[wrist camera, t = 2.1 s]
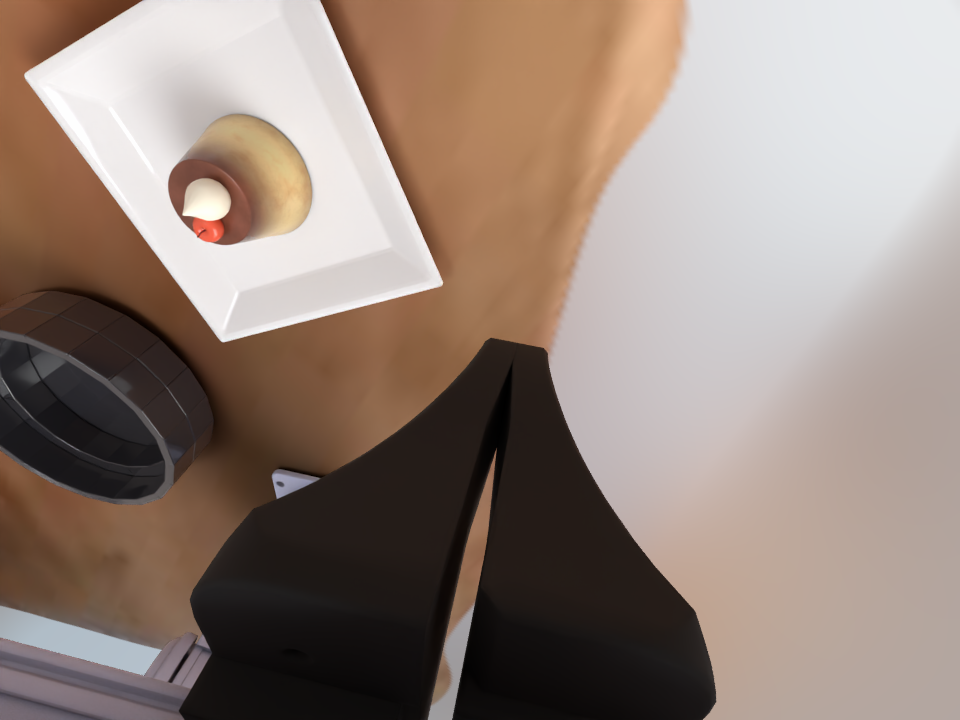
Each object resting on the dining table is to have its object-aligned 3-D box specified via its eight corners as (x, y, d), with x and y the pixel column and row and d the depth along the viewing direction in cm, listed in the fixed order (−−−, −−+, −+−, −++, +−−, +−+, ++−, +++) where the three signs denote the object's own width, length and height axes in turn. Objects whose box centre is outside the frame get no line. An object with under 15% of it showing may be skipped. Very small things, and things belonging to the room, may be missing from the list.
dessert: (234, 330, 25) (170, 391, 21) (48, 70, 19) (-88, 90, 15) (450, 273, 21) (418, 335, 17) (301, -82, 15) (200, -107, 11)
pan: (236, 471, 32) (197, 523, 29) (63, 432, 33) (8, 479, 30) (189, 311, 25) (131, 357, 22) (-30, 267, 26) (-117, 305, 23)
